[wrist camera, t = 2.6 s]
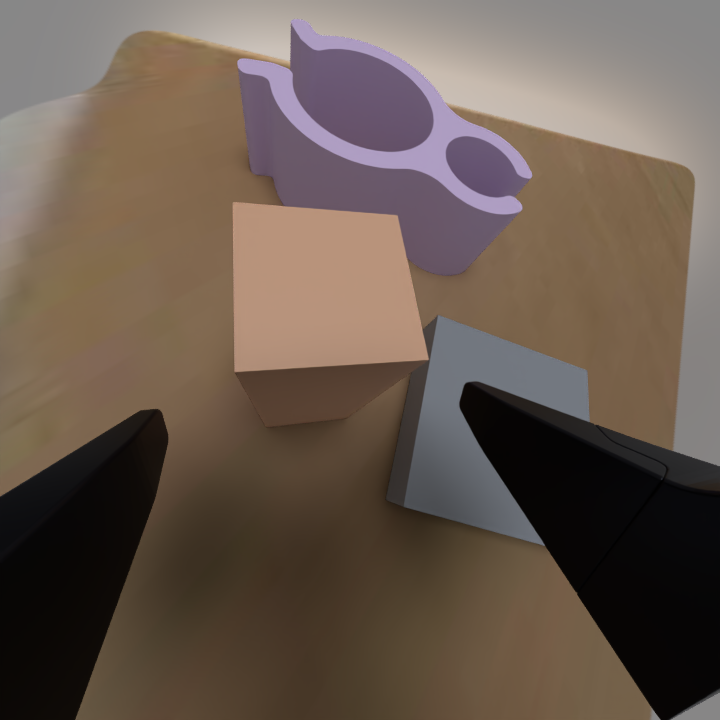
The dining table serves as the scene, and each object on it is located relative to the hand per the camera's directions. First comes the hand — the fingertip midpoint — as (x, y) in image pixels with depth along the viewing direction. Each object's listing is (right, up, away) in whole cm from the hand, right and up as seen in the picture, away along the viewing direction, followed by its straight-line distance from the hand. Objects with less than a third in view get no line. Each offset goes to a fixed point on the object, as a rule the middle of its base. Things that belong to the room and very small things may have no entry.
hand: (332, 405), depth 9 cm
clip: (+2, +15, +17) cm, 23 cm away
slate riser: (+10, -4, +12) cm, 16 cm away
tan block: (-3, 0, +10) cm, 11 cm away
